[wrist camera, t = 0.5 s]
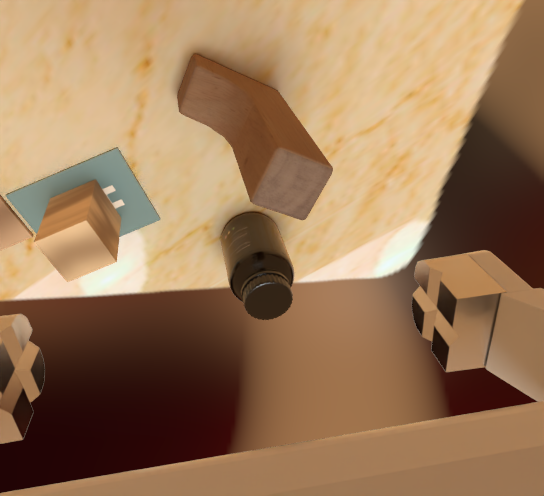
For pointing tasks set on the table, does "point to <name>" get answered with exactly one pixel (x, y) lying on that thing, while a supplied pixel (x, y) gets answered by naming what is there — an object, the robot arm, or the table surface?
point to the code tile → (103, 168)
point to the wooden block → (257, 136)
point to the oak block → (80, 231)
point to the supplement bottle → (258, 265)
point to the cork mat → (11, 227)
